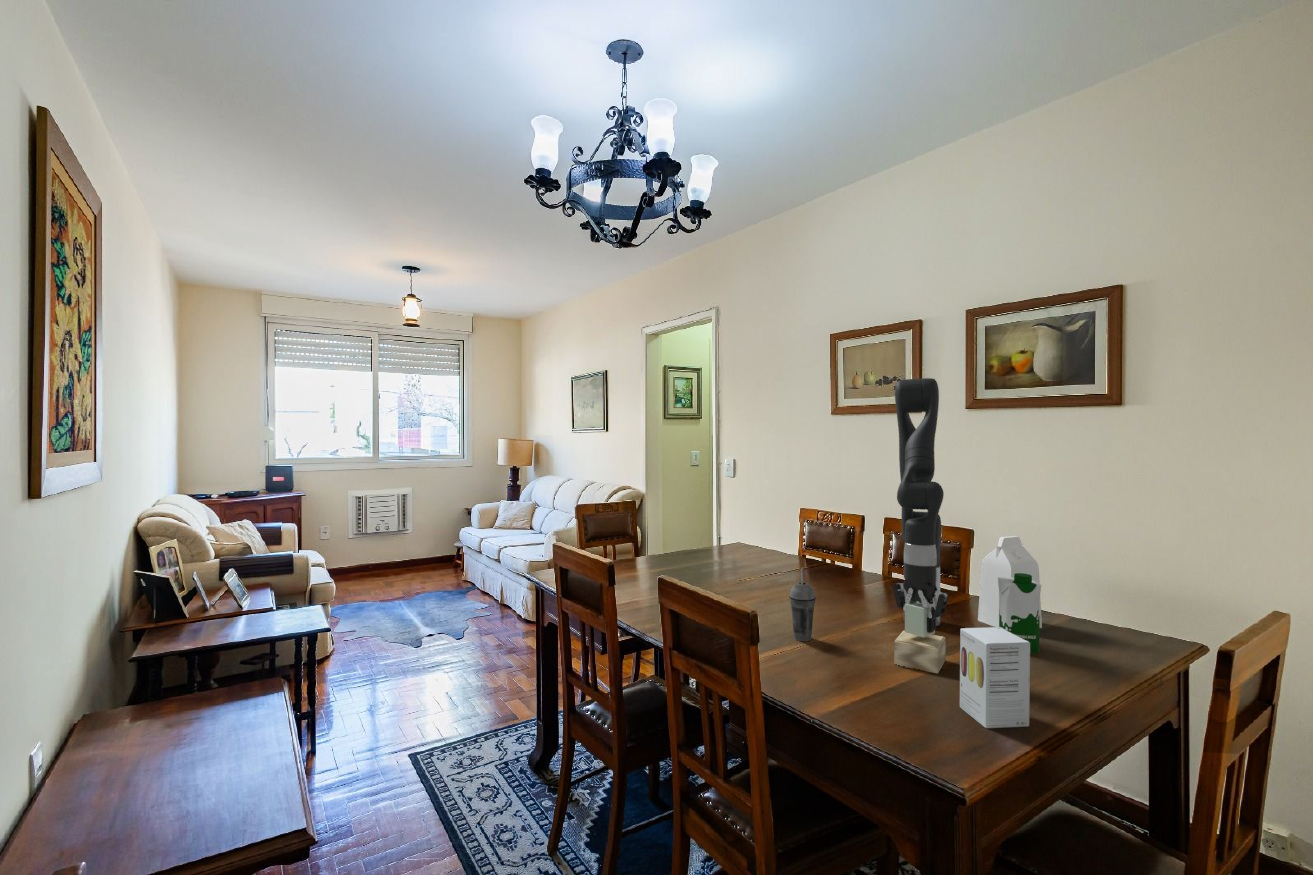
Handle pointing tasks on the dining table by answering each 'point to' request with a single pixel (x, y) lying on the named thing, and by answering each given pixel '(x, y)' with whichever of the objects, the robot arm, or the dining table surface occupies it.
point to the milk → (1003, 575)
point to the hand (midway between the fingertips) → (919, 628)
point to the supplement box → (995, 677)
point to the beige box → (920, 652)
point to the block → (916, 619)
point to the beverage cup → (802, 609)
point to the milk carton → (1020, 608)
